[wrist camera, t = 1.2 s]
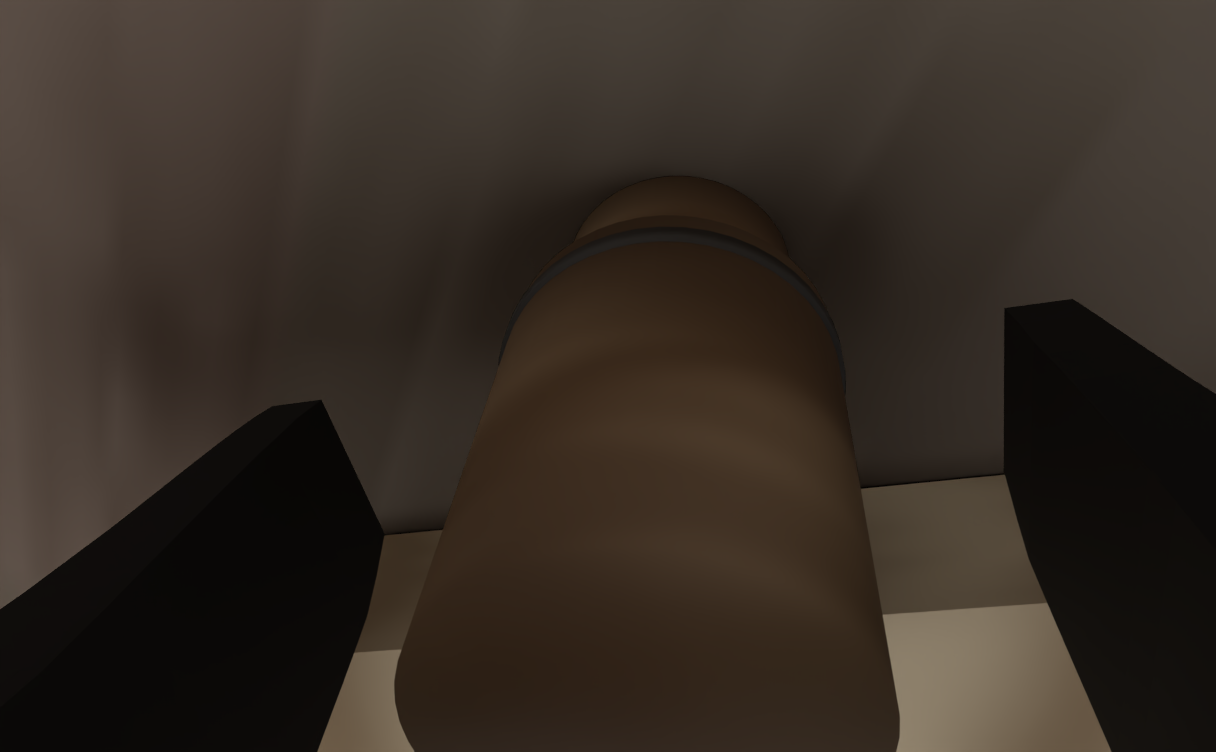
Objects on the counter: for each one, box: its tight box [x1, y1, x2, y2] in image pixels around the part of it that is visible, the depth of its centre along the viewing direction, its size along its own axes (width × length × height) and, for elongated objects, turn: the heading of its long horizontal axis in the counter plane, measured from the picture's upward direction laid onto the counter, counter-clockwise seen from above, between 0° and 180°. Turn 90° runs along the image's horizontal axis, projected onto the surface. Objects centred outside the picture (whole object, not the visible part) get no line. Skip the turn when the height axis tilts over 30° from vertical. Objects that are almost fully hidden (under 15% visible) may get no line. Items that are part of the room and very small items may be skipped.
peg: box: [394, 176, 900, 752], centre depth 10 cm, size 4×4×7 cm
